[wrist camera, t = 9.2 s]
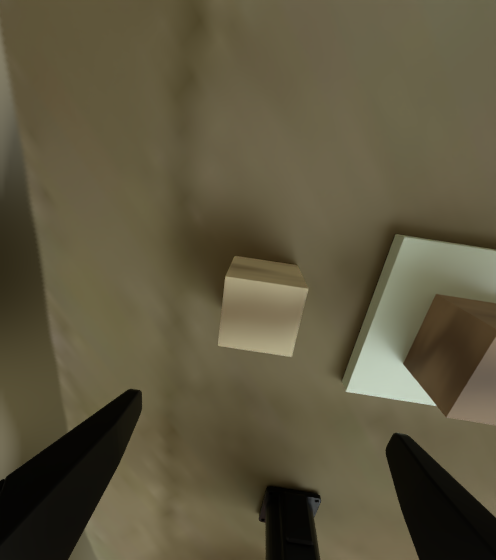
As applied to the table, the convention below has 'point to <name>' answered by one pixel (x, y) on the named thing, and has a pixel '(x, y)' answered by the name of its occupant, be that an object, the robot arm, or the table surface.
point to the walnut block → (457, 358)
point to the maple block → (262, 306)
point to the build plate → (412, 310)
